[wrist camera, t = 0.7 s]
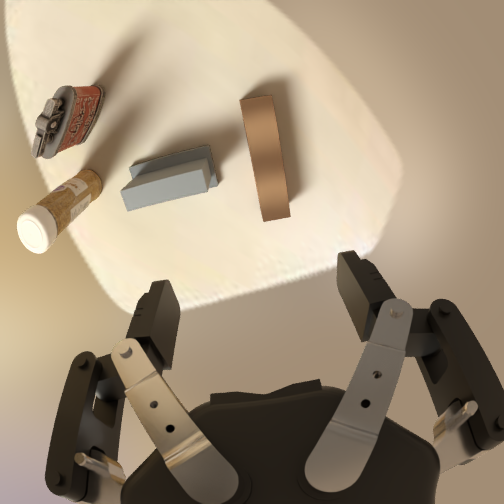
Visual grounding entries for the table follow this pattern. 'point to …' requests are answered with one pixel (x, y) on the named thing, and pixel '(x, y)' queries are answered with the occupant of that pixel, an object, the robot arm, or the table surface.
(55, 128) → the lighter
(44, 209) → the sprinkles bottle
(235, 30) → the table surface
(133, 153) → the table surface
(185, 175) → the fulcrum
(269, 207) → the walnut bar
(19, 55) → the table surface
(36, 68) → the table surface
